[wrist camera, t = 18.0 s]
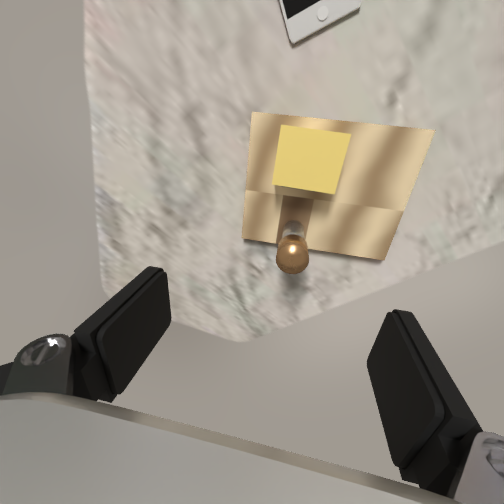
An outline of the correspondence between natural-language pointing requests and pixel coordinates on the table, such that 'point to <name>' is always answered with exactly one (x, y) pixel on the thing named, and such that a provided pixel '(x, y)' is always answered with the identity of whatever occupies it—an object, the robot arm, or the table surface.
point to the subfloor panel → (347, 191)
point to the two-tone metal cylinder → (292, 249)
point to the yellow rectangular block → (309, 158)
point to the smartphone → (313, 15)
